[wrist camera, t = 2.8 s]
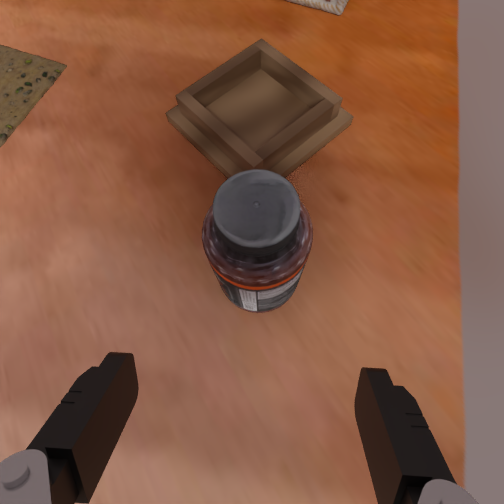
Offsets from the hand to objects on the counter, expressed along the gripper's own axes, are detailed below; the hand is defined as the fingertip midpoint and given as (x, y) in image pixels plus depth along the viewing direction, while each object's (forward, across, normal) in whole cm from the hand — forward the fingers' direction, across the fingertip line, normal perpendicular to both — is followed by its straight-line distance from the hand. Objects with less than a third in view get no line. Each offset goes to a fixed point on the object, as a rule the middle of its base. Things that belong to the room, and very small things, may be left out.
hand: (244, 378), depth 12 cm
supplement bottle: (+14, 0, +3) cm, 14 cm away
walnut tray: (+24, +1, -7) cm, 25 cm away
